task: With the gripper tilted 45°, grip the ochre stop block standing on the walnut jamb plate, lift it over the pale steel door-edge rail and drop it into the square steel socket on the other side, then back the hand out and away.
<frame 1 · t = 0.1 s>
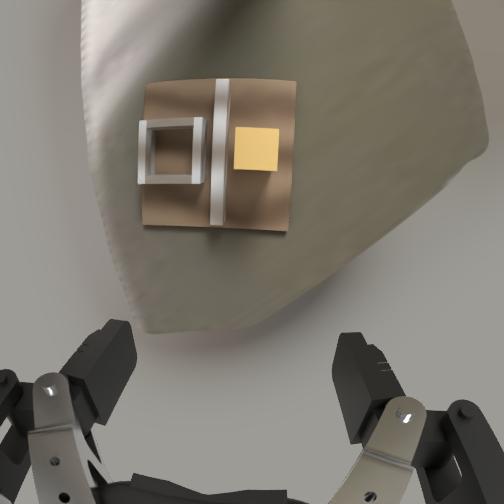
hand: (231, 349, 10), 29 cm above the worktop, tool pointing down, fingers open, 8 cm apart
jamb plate: (215, 151, 36), on the worktop
stop block: (257, 152, 35), point 1 cm above the worktop, touching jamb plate
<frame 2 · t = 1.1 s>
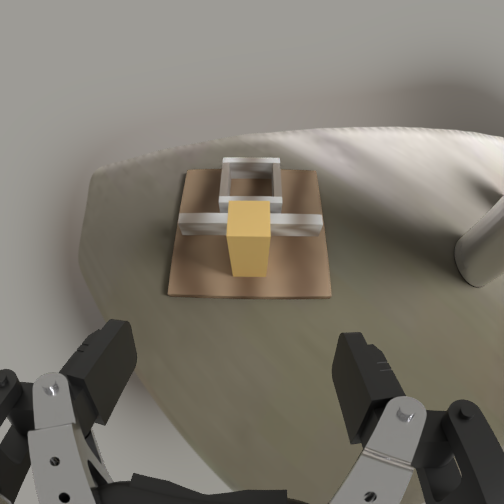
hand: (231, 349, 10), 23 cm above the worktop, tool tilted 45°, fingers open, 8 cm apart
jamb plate: (250, 227, 39), on the worktop
stop block: (249, 261, 36), point 1 cm above the worktop, touching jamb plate
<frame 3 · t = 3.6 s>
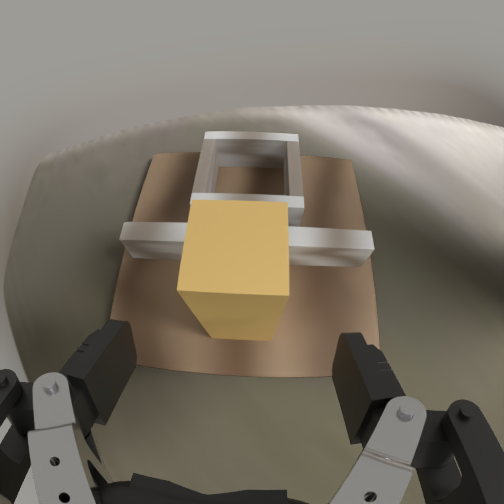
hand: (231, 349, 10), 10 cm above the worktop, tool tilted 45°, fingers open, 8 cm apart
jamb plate: (246, 248, 23), on the worktop
stop block: (242, 311, 20), point 1 cm above the worktop, touching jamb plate
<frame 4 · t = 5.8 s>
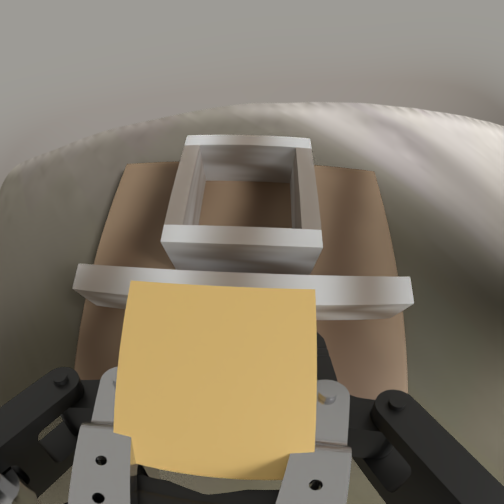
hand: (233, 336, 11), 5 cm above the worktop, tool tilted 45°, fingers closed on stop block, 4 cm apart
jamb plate: (241, 294, 17), on the worktop
stop block: (236, 385, 14), point 1 cm above the worktop, touching gripper, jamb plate
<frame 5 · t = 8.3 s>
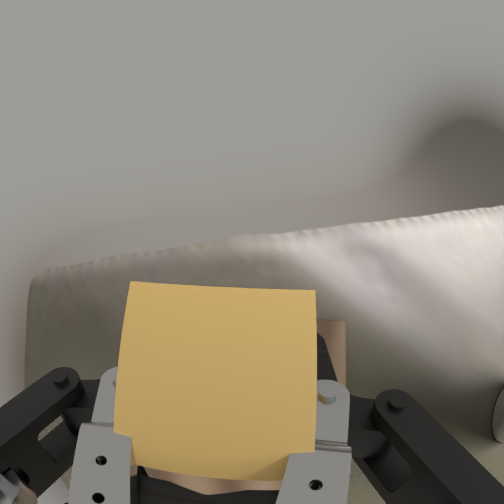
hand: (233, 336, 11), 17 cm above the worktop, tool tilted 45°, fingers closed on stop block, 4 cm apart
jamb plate: (239, 418, 24), on the worktop
stop block: (236, 385, 14), point 13 cm above the worktop, touching gripper
when the fingers open (7 cm above the worktop, at t = 10.8 s): stop block drops 1 cm, resting on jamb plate.
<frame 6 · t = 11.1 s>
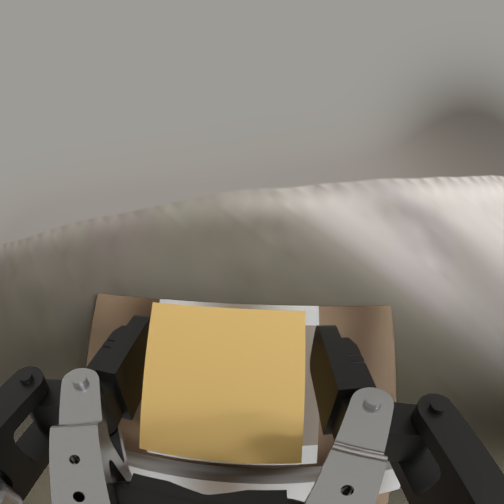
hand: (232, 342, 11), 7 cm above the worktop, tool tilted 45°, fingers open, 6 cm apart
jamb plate: (234, 459, 14), on the worktop
stop block: (238, 386, 15), point 1 cm above the worktop, touching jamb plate
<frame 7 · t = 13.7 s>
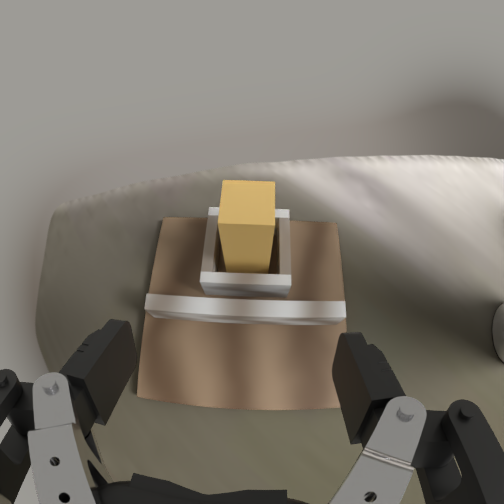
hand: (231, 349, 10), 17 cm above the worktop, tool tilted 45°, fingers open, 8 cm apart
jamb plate: (245, 308, 28), on the worktop
stop block: (248, 259, 30), point 1 cm above the worktop, touching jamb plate
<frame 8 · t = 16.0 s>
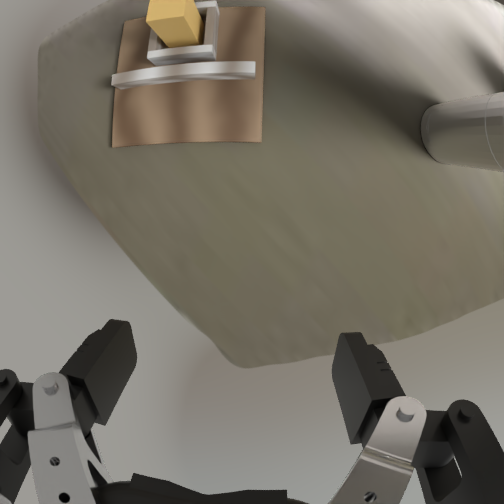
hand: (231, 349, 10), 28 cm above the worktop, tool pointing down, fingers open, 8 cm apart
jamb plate: (186, 71, 31), on the worktop
stop block: (188, 37, 29), point 1 cm above the worktop, touching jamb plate
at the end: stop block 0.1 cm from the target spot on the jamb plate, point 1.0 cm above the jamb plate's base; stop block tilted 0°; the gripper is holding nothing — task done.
